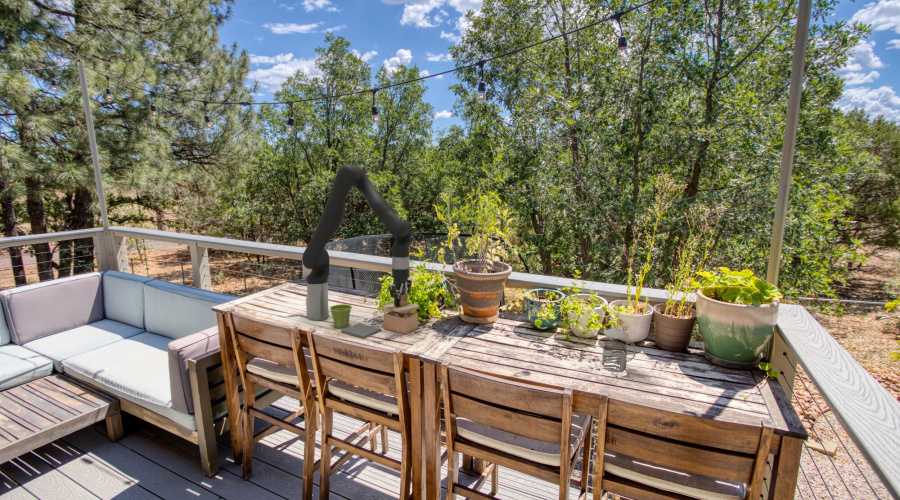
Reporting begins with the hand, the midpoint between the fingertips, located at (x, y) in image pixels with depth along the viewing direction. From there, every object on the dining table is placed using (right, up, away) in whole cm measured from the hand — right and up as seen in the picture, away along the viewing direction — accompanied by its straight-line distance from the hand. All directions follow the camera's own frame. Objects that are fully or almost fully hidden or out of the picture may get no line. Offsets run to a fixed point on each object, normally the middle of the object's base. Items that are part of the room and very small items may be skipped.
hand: (400, 304), depth 182 cm
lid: (0, -1, 0) cm, 1 cm away
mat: (-17, -11, -2) cm, 20 cm away
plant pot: (-27, -10, +4) cm, 29 cm away
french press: (+80, -19, -36) cm, 89 cm away
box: (0, -11, +2) cm, 11 cm away
